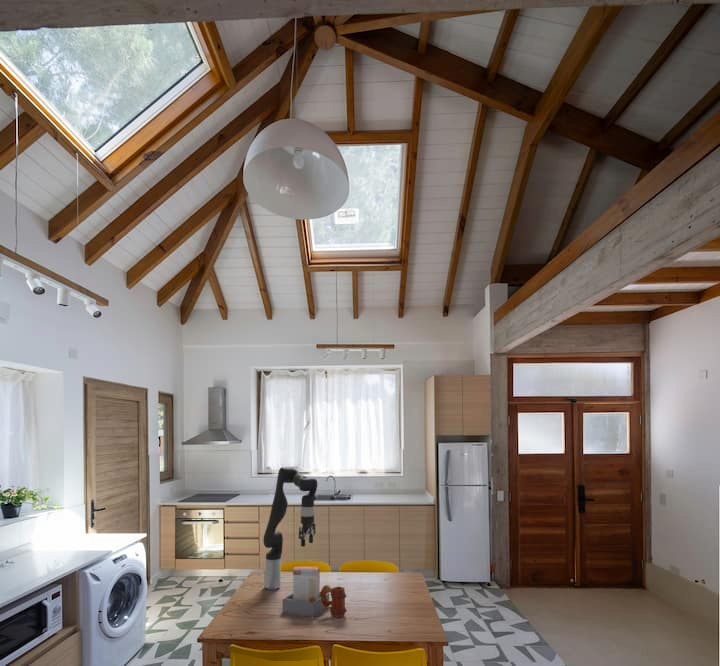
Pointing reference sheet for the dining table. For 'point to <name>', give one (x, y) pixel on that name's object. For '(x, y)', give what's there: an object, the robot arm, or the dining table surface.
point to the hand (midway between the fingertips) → (307, 544)
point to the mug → (334, 600)
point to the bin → (303, 606)
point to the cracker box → (306, 583)
